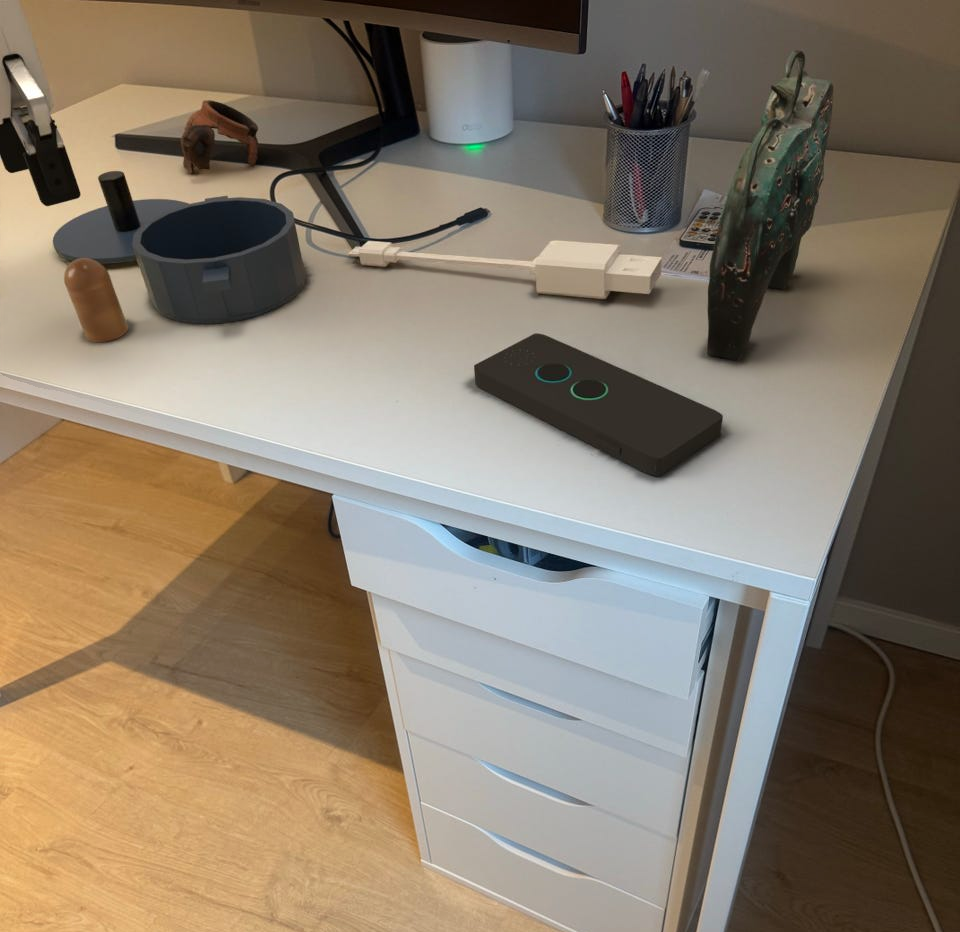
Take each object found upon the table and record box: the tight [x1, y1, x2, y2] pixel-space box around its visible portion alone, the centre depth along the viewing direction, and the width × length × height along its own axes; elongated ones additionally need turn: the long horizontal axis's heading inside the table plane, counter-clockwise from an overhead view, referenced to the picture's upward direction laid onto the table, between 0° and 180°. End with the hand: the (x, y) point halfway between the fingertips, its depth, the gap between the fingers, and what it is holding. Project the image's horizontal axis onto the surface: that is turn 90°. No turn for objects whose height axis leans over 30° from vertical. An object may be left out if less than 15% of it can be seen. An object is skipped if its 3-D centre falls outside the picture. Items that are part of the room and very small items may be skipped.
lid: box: [52, 170, 190, 265], centre depth 100 cm, size 17×17×7 cm
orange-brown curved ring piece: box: [180, 99, 260, 175], centre depth 116 cm, size 12×10×8 cm
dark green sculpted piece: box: [706, 49, 834, 361], centre depth 75 cm, size 20×6×20 cm, turn 152°
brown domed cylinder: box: [63, 258, 129, 343], centre depth 84 cm, size 4×4×7 cm
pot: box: [132, 195, 306, 325], centre depth 90 cm, size 16×21×6 cm
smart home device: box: [473, 332, 724, 477], centre depth 72 cm, size 8×2×20 cm
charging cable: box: [348, 239, 663, 300], centre depth 89 cm, size 5×32×3 cm, turn 67°
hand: (43, 184), depth 77 cm, fingers open, 9 cm apart
